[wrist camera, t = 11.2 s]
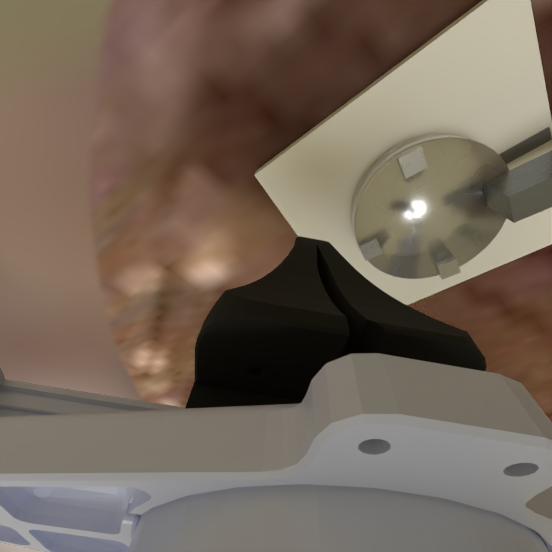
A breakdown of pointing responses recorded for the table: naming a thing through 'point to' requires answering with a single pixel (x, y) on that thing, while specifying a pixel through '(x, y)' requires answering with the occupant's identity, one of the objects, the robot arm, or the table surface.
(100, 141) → the table surface
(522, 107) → the cap plate
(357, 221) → the grey metal handled bowl
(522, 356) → the table surface
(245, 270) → the table surface
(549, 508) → the robot arm
